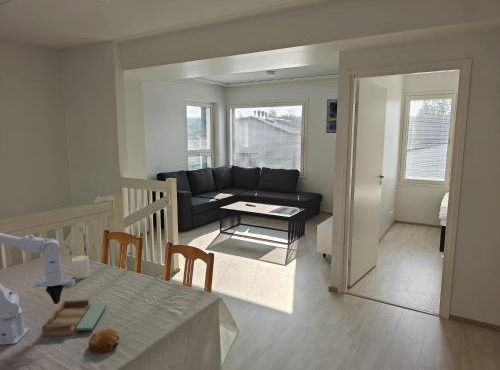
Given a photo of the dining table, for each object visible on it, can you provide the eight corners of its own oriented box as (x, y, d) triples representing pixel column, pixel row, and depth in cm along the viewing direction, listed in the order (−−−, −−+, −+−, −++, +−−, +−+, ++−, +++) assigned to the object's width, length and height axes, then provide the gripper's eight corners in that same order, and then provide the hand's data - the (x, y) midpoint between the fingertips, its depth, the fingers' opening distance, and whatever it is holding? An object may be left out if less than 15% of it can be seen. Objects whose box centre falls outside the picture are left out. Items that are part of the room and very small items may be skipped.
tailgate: (75, 331, 132) (92, 331, 133) (75, 327, 132) (92, 327, 132) (92, 306, 150) (107, 306, 151) (92, 303, 150) (107, 303, 151)
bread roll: (113, 344, 131) (107, 324, 132) (126, 343, 125) (120, 322, 126) (88, 358, 124) (81, 336, 125) (100, 357, 117) (93, 334, 118)
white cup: (73, 274, 185) (72, 256, 184) (90, 272, 189) (88, 254, 187) (73, 280, 178) (71, 262, 177) (90, 277, 182) (88, 259, 180)
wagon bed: (73, 334, 131) (72, 325, 131) (43, 336, 130) (41, 327, 130) (91, 307, 151) (90, 299, 150) (65, 309, 150) (64, 300, 149)
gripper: (76, 265, 139) (79, 296, 141) (38, 267, 138) (42, 298, 140) (69, 272, 132) (73, 305, 135) (29, 274, 131) (33, 307, 133)
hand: (56, 302), depth 137 cm, fingers closed
